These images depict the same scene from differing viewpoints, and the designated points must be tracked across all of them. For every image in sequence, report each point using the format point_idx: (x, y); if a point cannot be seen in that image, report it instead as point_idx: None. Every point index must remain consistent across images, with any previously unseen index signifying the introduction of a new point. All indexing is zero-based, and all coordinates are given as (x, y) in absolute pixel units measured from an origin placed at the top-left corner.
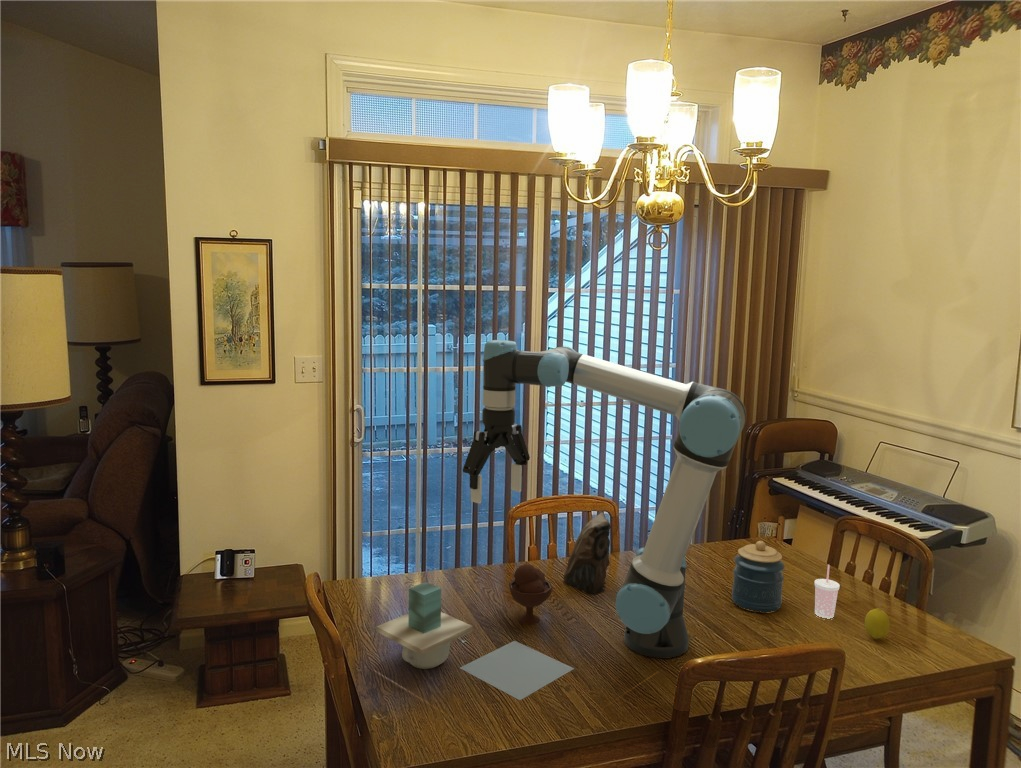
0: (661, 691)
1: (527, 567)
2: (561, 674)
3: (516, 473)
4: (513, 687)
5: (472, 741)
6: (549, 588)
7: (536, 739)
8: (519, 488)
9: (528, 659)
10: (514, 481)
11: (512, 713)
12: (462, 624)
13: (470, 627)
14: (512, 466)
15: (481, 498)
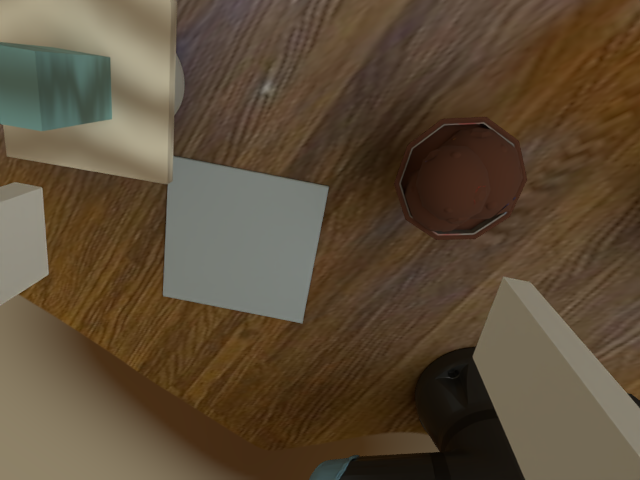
0: (325, 436)
1: (449, 200)
2: (271, 314)
3: (552, 457)
4: (185, 270)
5: (42, 287)
6: (465, 235)
7: (110, 350)
8: (482, 378)
9: (279, 246)
10: (522, 361)
11: (133, 299)
12: (156, 159)
13: (160, 182)
14: (634, 476)
15: (19, 292)
